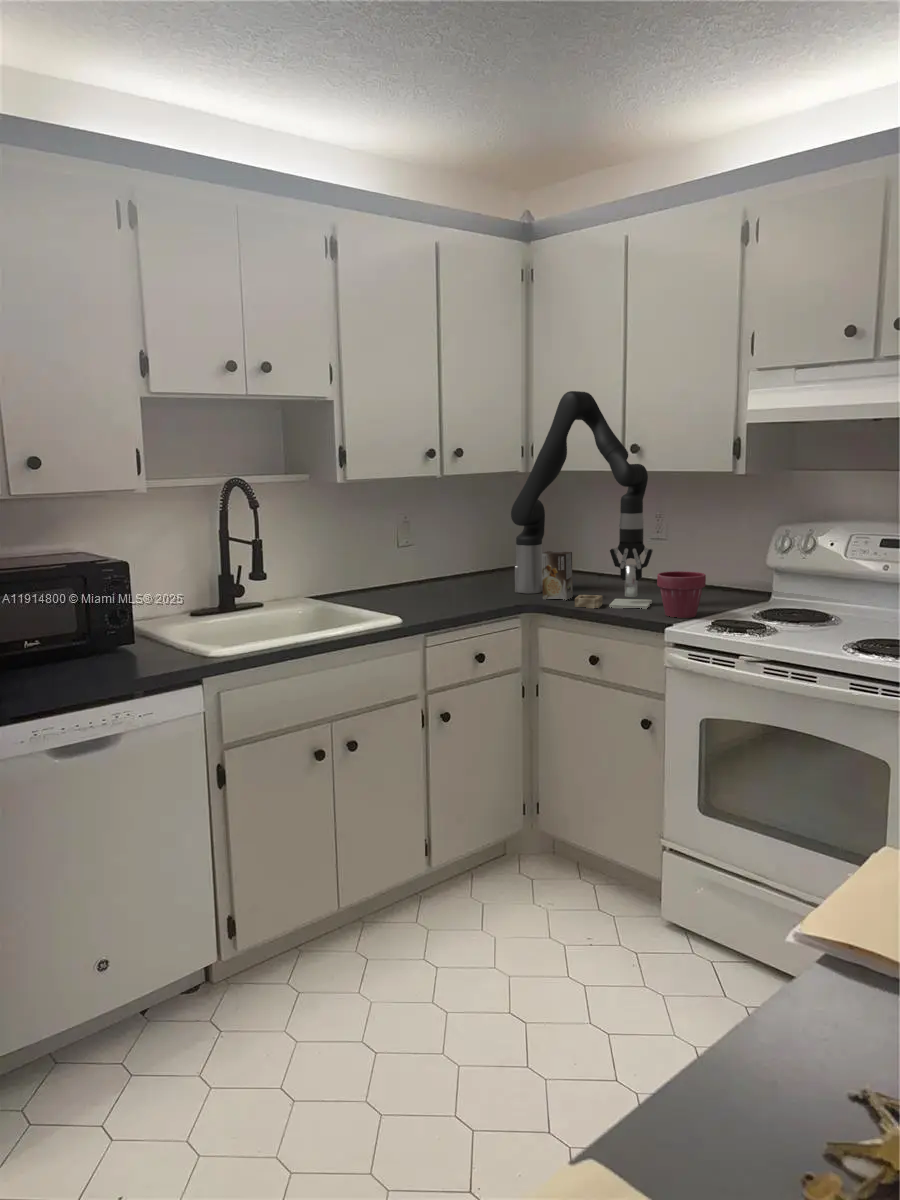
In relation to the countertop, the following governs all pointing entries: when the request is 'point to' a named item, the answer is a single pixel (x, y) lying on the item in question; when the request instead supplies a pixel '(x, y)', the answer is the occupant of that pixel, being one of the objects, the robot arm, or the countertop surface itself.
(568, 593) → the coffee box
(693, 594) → the plant pot
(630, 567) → the metal peg
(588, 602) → the wood collar
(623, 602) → the sage mat
